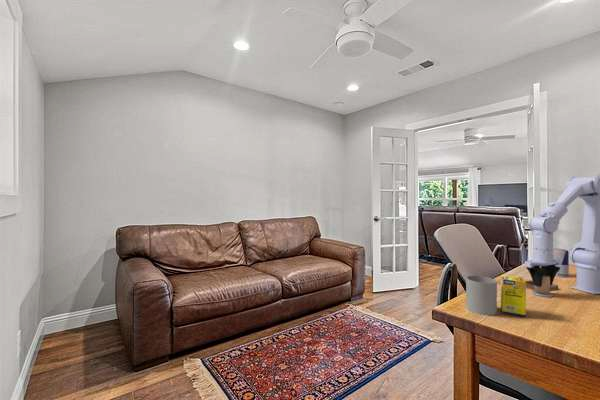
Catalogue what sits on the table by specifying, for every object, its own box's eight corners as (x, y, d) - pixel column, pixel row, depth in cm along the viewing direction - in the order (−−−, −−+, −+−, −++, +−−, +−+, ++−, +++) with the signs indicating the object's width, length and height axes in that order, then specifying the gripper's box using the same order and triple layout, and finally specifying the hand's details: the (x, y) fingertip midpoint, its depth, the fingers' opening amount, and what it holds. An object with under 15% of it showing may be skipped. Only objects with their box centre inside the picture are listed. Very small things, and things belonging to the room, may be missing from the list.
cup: (501, 316, 87) (502, 284, 87) (472, 314, 88) (472, 282, 88) (489, 306, 95) (489, 276, 95) (462, 304, 97) (462, 275, 97)
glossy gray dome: (540, 291, 109) (540, 290, 109) (557, 296, 103) (557, 295, 103) (528, 292, 108) (528, 291, 108) (545, 298, 102) (545, 296, 102)
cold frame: (536, 283, 119) (536, 279, 119) (558, 289, 111) (558, 285, 111) (517, 285, 117) (518, 281, 117) (538, 291, 109) (538, 287, 109)
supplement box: (526, 318, 86) (526, 281, 85) (501, 313, 89) (502, 278, 89) (523, 311, 91) (523, 277, 90) (500, 307, 94) (500, 274, 94)
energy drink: (572, 277, 127) (572, 250, 127) (559, 277, 127) (560, 250, 127) (561, 274, 133) (561, 248, 132) (549, 274, 133) (549, 248, 133)
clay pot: (541, 289, 108) (541, 273, 108) (553, 293, 104) (553, 276, 104) (531, 289, 108) (530, 274, 108) (542, 293, 103) (542, 277, 103)
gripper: (546, 246, 111) (546, 280, 111) (516, 248, 107) (516, 283, 108) (567, 249, 104) (566, 286, 104) (536, 251, 101) (536, 289, 101)
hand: (542, 285), depth 105 cm, fingers closed on clay pot, 4 cm apart
